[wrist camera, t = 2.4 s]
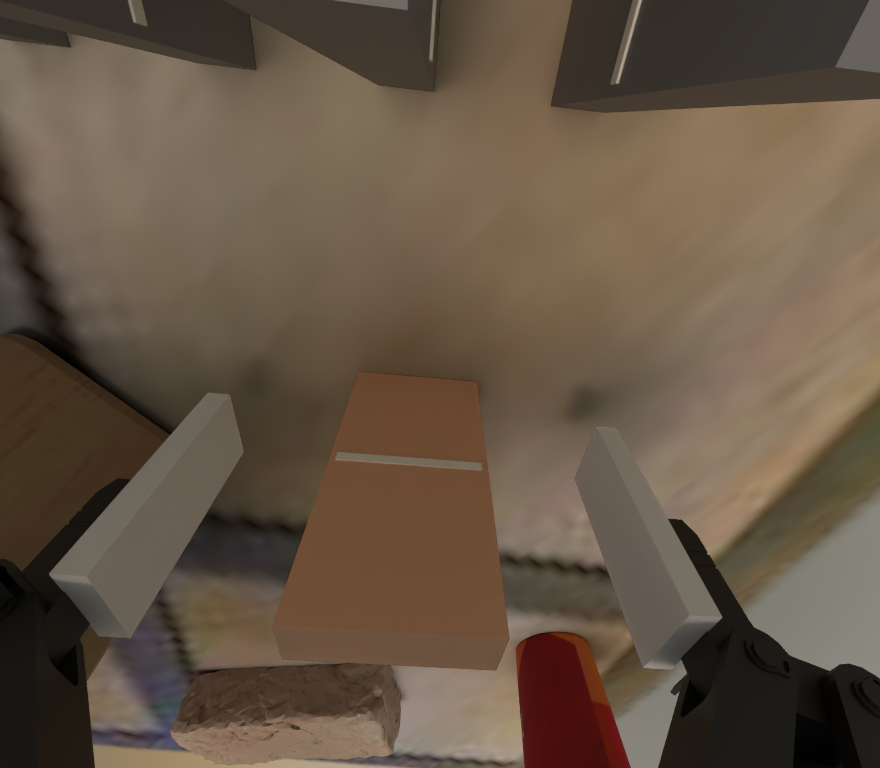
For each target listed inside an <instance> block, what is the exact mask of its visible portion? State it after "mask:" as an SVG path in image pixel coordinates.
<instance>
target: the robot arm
mask: <svg viewBox="0 0 880 768" xmlns="http://www.w3.org/2000/svg"><path fill="white" fill-rule="evenodd" d="M243 453H244V450H243V446H242V442H241V438H240V434H239V430H238V426H237V421H236V417H235V413H234V409H233V405H232V401H231V397H230V394H219V393H207V394H206V395H205V396H204V397H203V398H202V400H201V401H200V402H199V403H198V404H197V405H196V406H195V408H194V409H193V410H192V411H191V412H190V413H189V414H188V416H187V417H186V418H185V419H184V420H183V421H182V422H181V423H180V425H179V426H178V427H177V428H176V429H175V430H174V431H173V433H172V434H171V435H170V436H169V437H168V438H167V439H166V441H165V442H164V443H163V444H162V445H161V446H160V447H159V449H158V450H157V451H156V452H155V453H154V454H153V455H152V457H151V458H150V459H149V460H148V461H147V462H146V463H145V465H144V466H143V467H142V468H141V469H140V470H139V471H138V473H137V474H136V475H135V476H134V477H133V478H132V479H121V478H117V479H116V480H114V481H113V482H111V483H109V484H108V485H106V486H105V487H103V488H102V489H100V490H99V491H97V492H96V493H95V494H94V495H93V496H92V497H91V499H90V500H89V501H88V502H87V503H86V504H85V505H84V506H83V507H82V510H81V511H78V512H77V513H76V515H75V516H74V517H73V518H72V519H71V520H70V521H69V524H68V525H65V526H64V527H63V528H62V529H61V530H60V532H59V533H58V534H57V535H56V536H55V537H54V538H53V539H52V540H51V541H50V542H49V543H48V544H47V545H46V546H45V547H44V549H43V550H42V551H41V552H40V553H39V554H38V555H37V556H36V557H35V558H34V559H33V560H32V561H31V562H30V563H29V564H28V566H27V567H26V568H25V569H24V570H23V571H22V572H21V571H20V570H19V568H18V567H17V566H16V565H15V564H14V563H13V562H11V561H8V560H6V559H0V768H95V765H94V754H93V744H92V733H91V723H90V713H89V702H88V692H87V682H86V672H85V661H84V651H83V645H82V643H81V641H80V638H81V636H82V635H83V633H84V632H85V631H86V629H87V628H88V626H89V625H90V626H91V627H92V629H93V630H94V631H95V632H96V634H97V635H98V636H102V637H119V638H131V636H132V635H133V633H134V632H135V630H136V628H137V627H138V625H139V623H140V622H141V620H142V618H143V617H144V615H145V613H146V612H147V610H148V609H149V607H150V605H151V604H152V602H153V600H154V599H155V597H156V595H157V594H158V592H159V591H160V589H161V587H162V586H163V584H164V582H165V581H166V579H167V577H168V576H169V574H170V572H171V571H172V569H173V568H174V566H175V564H176V563H177V561H178V559H179V558H180V556H181V554H182V553H183V551H184V549H185V548H186V546H187V545H188V543H189V541H190V540H191V538H192V536H193V535H194V533H195V531H196V530H197V528H198V527H199V525H200V523H201V522H202V520H203V518H204V517H205V515H206V513H207V512H208V510H209V508H210V507H211V505H212V504H213V502H214V500H215V499H216V497H217V495H218V494H219V492H220V490H221V489H222V487H223V485H224V484H225V482H226V481H227V479H228V477H229V476H230V474H231V472H232V471H233V469H234V467H235V466H236V464H237V463H238V461H239V459H240V458H241V456H242V454H243ZM575 481H576V484H577V486H578V489H579V492H580V495H581V497H582V500H583V503H584V506H585V509H586V511H587V514H588V517H589V520H590V522H591V525H592V528H593V531H594V533H595V536H596V539H597V542H598V545H599V547H600V550H601V553H602V556H603V558H604V561H605V564H606V567H607V570H608V572H609V575H610V578H611V581H612V583H613V586H614V589H615V592H616V594H617V597H618V600H619V603H620V606H621V608H622V611H623V614H624V617H625V619H626V622H627V625H628V628H629V631H630V633H631V636H632V639H633V642H634V644H635V647H636V650H637V653H638V656H639V658H640V661H641V664H642V667H643V668H654V669H672V668H673V667H674V666H675V665H676V664H677V663H678V662H679V661H680V660H682V662H683V664H684V667H685V669H686V671H687V674H686V675H685V676H684V677H683V678H682V679H681V680H680V681H679V682H678V683H677V684H676V685H675V686H674V687H673V689H672V690H671V693H672V694H673V695H676V694H677V693H678V692H679V691H680V692H679V696H678V700H677V703H676V707H675V710H674V714H673V717H672V721H671V724H670V728H669V732H668V735H667V738H666V742H665V746H664V749H663V753H662V756H661V760H660V763H659V767H658V768H880V679H879V678H878V677H877V676H875V675H874V674H872V673H870V672H868V671H867V670H865V669H863V668H861V667H858V666H855V665H852V664H841V665H838V666H837V667H835V668H834V669H832V670H831V671H828V670H825V669H823V668H820V667H817V666H815V665H812V664H810V663H807V662H804V661H802V660H799V659H797V658H794V657H792V656H790V655H788V653H787V652H786V651H785V650H784V649H783V648H782V646H781V645H780V644H779V643H778V642H776V641H775V640H774V639H773V638H771V637H770V636H769V635H768V634H766V633H764V632H762V631H760V630H758V629H756V628H754V627H753V625H752V624H751V623H750V621H749V620H748V618H747V616H746V615H745V613H744V611H743V610H742V608H741V606H740V605H739V603H738V602H737V600H736V598H735V597H734V595H733V593H732V592H731V590H730V588H729V587H728V585H727V583H726V582H725V580H724V578H723V577H722V575H721V573H720V572H719V570H718V569H716V567H715V566H716V565H715V564H714V562H713V560H712V559H711V557H710V555H707V550H706V549H705V547H704V545H703V544H702V542H701V541H700V539H699V537H698V536H697V534H696V533H695V532H694V531H693V530H692V529H691V528H690V527H688V526H687V525H686V524H685V523H684V522H683V521H682V520H677V519H667V517H666V515H665V513H664V511H663V510H662V508H661V506H660V504H659V502H658V501H657V499H656V497H655V495H654V493H653V492H652V490H651V488H650V486H649V485H648V483H647V481H646V479H645V477H644V476H643V474H642V472H641V470H640V468H639V467H638V465H637V463H636V461H635V459H634V458H633V456H632V454H631V452H630V450H629V449H628V447H627V445H626V443H625V441H624V440H623V438H622V436H621V434H620V432H619V431H618V429H617V427H605V426H596V428H595V430H594V432H593V435H592V437H591V440H590V442H589V445H588V447H587V449H586V452H585V454H584V457H583V459H582V461H581V464H580V466H579V469H578V471H577V474H576V476H575Z"/></svg>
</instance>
